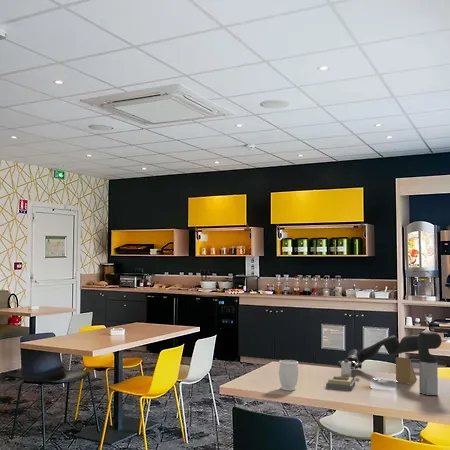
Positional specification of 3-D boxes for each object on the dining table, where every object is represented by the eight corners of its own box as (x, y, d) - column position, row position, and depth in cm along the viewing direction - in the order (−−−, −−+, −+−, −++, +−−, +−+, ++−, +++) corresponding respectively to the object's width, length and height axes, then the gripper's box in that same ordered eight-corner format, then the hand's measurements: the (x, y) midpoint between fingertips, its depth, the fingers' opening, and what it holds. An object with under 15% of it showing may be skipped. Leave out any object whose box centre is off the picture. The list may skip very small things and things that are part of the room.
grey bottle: (351, 382, 314) (351, 359, 315) (349, 384, 309) (350, 360, 310) (342, 381, 316) (342, 358, 317) (341, 383, 311) (341, 360, 312)
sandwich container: (417, 380, 325) (417, 355, 326) (410, 384, 312) (410, 358, 313) (403, 378, 330) (403, 353, 331) (395, 382, 317) (395, 356, 318)
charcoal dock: (354, 385, 306) (355, 377, 306) (351, 390, 293) (351, 382, 293) (330, 382, 311) (330, 375, 311) (326, 388, 298) (326, 379, 298)
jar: (275, 389, 291) (276, 361, 292) (282, 386, 300) (283, 358, 302) (294, 392, 286) (294, 363, 287) (300, 388, 296) (301, 360, 297)
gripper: (340, 355, 341) (336, 359, 326) (363, 357, 336) (360, 361, 321) (340, 366, 341) (336, 371, 326) (363, 369, 336) (360, 374, 321)
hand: (348, 366), depth 324 cm, fingers open, 8 cm apart
